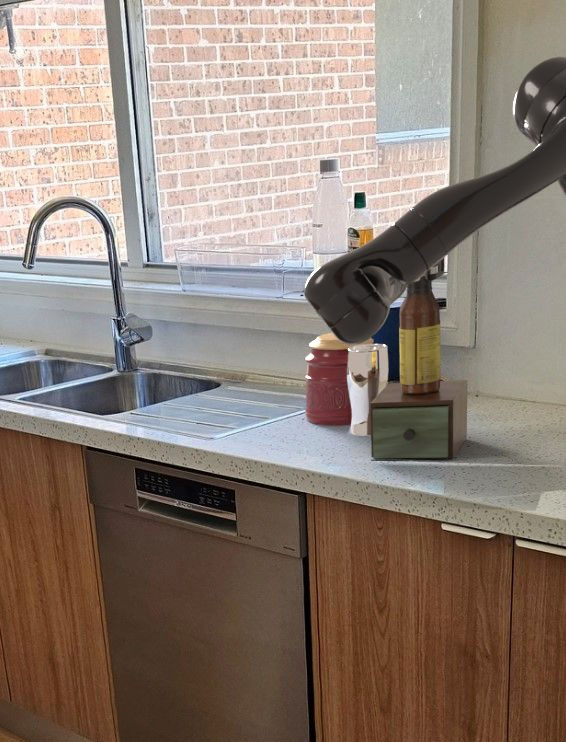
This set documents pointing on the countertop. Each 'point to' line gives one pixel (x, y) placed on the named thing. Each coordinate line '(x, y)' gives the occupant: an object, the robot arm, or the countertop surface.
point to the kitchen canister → (328, 382)
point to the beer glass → (365, 383)
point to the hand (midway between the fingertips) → (398, 264)
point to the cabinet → (446, 395)
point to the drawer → (411, 432)
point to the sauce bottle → (420, 340)
